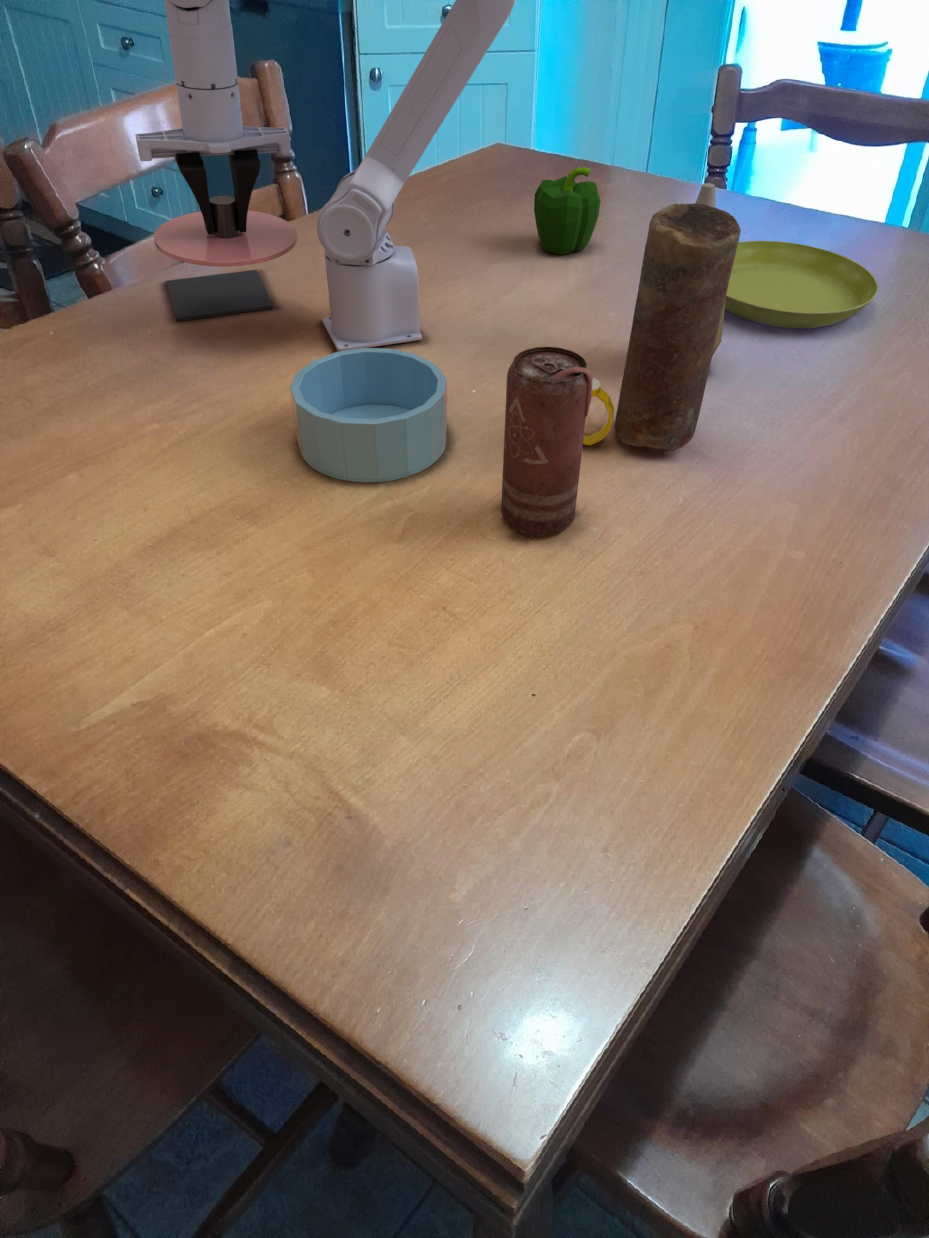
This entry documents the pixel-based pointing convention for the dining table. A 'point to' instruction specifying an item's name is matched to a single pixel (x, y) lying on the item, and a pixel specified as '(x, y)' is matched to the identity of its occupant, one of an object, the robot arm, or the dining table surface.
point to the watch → (610, 409)
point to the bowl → (370, 414)
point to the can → (544, 439)
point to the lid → (225, 237)
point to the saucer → (796, 285)
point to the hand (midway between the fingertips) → (225, 230)
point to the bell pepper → (566, 212)
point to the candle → (675, 324)
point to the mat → (218, 295)
